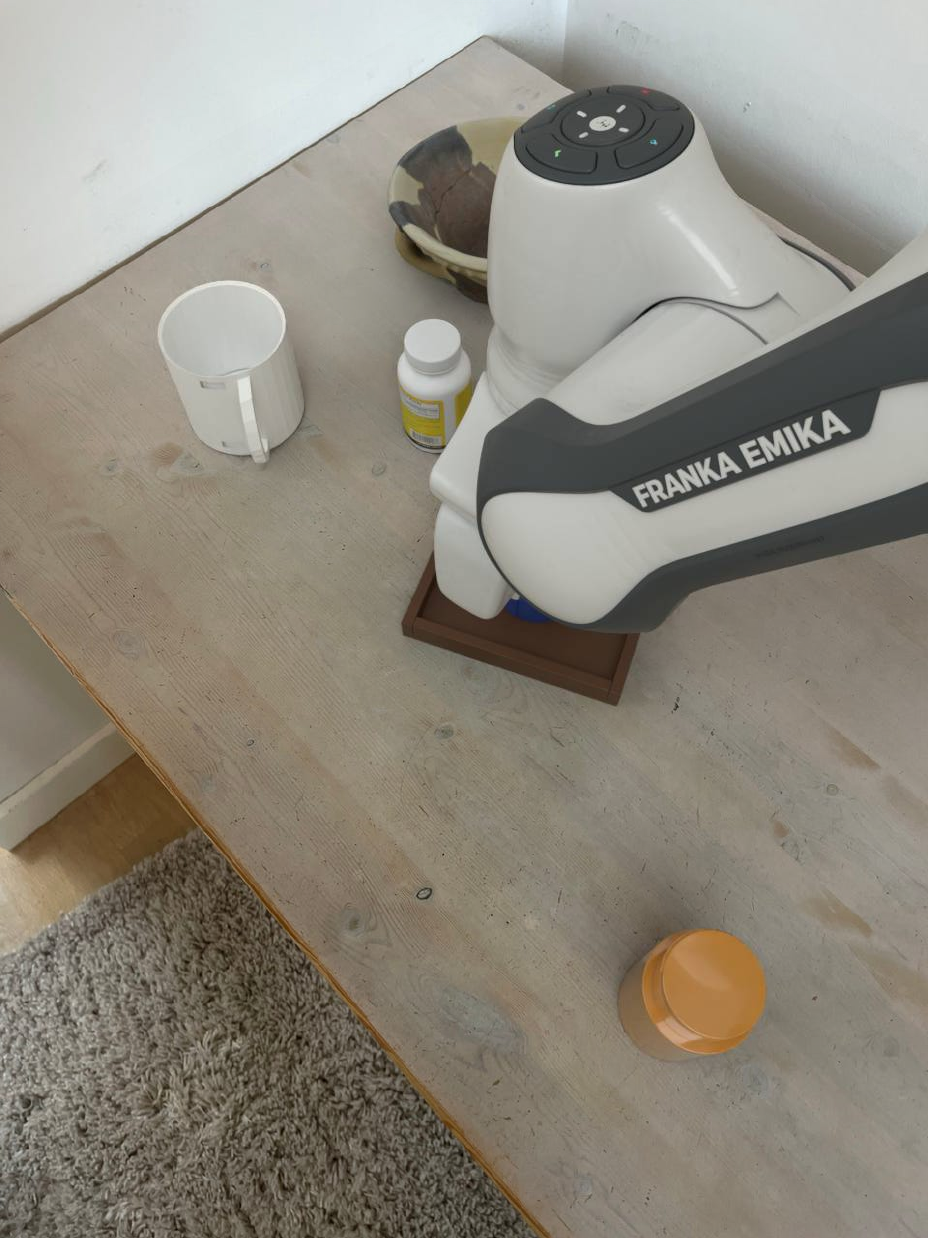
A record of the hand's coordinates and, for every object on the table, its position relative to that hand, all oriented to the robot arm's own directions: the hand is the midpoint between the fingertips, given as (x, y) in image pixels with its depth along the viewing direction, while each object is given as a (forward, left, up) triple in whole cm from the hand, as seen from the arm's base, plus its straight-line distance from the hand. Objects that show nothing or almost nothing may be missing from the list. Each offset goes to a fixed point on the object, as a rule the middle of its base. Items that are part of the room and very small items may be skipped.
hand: (553, 534), depth 64 cm
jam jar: (-15, +24, -7) cm, 30 cm away
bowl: (+13, -28, -8) cm, 32 cm away
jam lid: (+1, 0, -7) cm, 7 cm away
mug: (+26, -6, -8) cm, 28 cm away
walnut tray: (0, 0, -7) cm, 7 cm away
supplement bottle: (+13, -11, -8) cm, 18 cm away
